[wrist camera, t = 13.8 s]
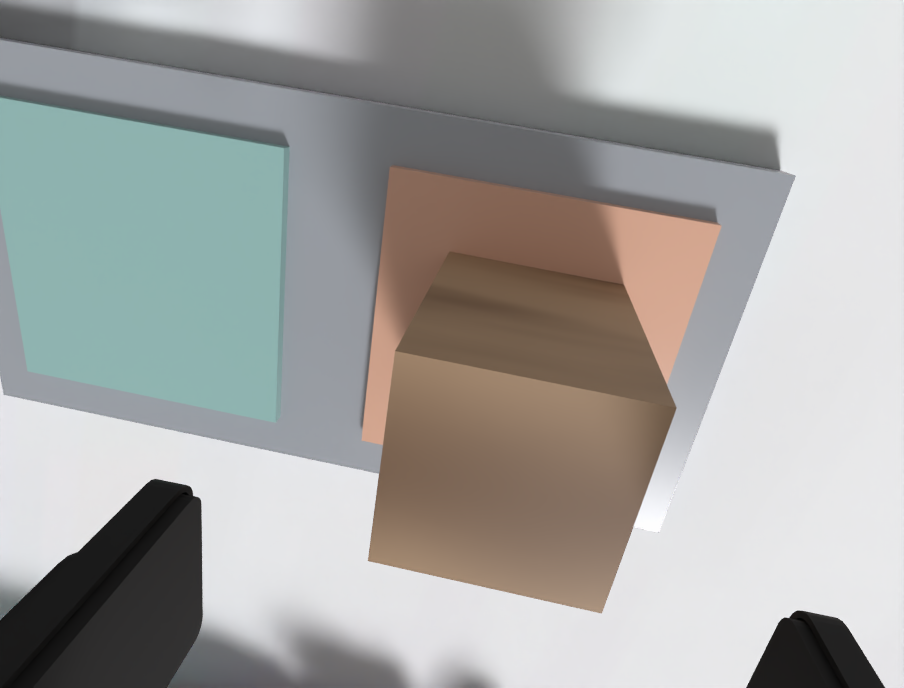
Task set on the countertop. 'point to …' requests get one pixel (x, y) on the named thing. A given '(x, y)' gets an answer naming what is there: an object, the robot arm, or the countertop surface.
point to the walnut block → (519, 432)
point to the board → (324, 248)
